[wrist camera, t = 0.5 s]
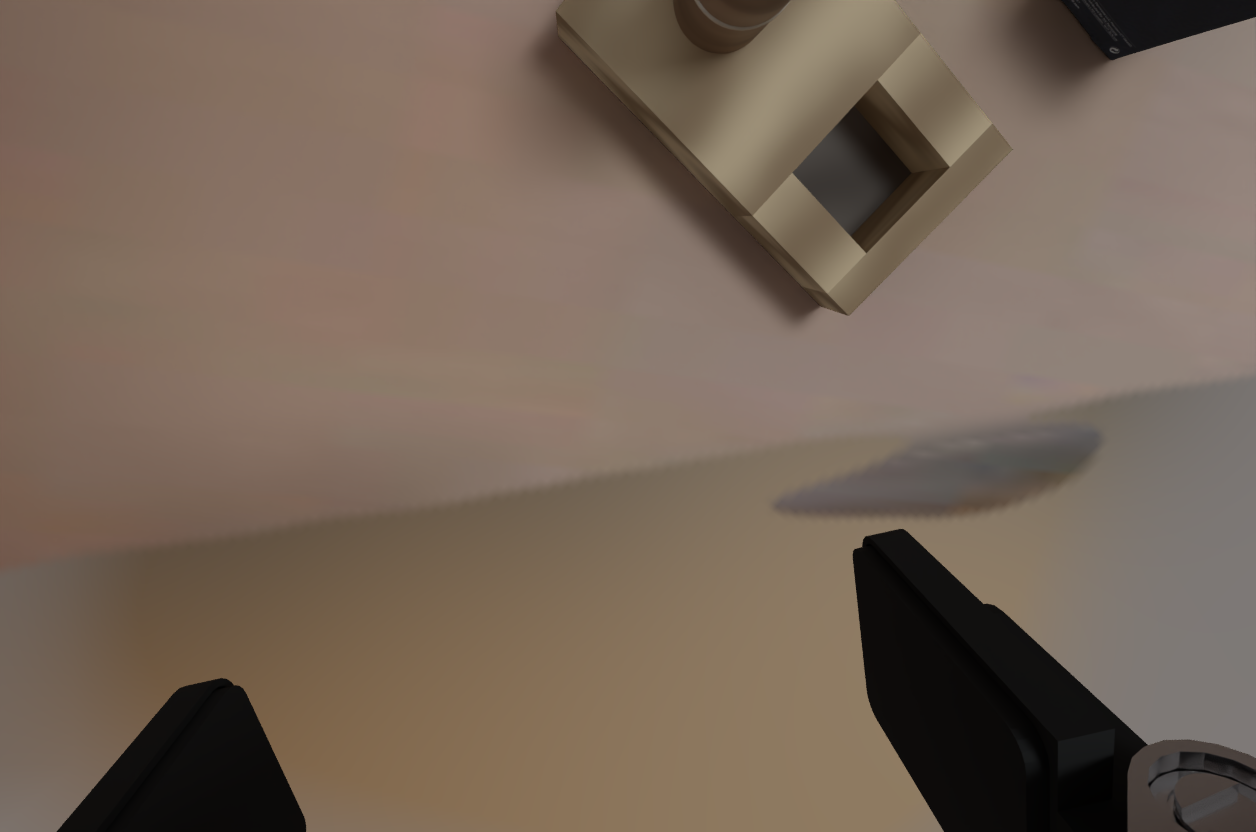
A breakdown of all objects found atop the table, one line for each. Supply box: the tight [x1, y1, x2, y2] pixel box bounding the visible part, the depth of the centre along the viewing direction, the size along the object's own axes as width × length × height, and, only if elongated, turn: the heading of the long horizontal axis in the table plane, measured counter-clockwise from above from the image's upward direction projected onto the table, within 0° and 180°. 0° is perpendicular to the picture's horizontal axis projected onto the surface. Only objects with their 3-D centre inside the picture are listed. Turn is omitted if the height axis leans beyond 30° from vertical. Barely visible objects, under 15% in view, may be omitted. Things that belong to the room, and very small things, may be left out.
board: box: [556, 0, 1013, 316], centre depth 32 cm, size 20×11×4 cm, turn 47°
